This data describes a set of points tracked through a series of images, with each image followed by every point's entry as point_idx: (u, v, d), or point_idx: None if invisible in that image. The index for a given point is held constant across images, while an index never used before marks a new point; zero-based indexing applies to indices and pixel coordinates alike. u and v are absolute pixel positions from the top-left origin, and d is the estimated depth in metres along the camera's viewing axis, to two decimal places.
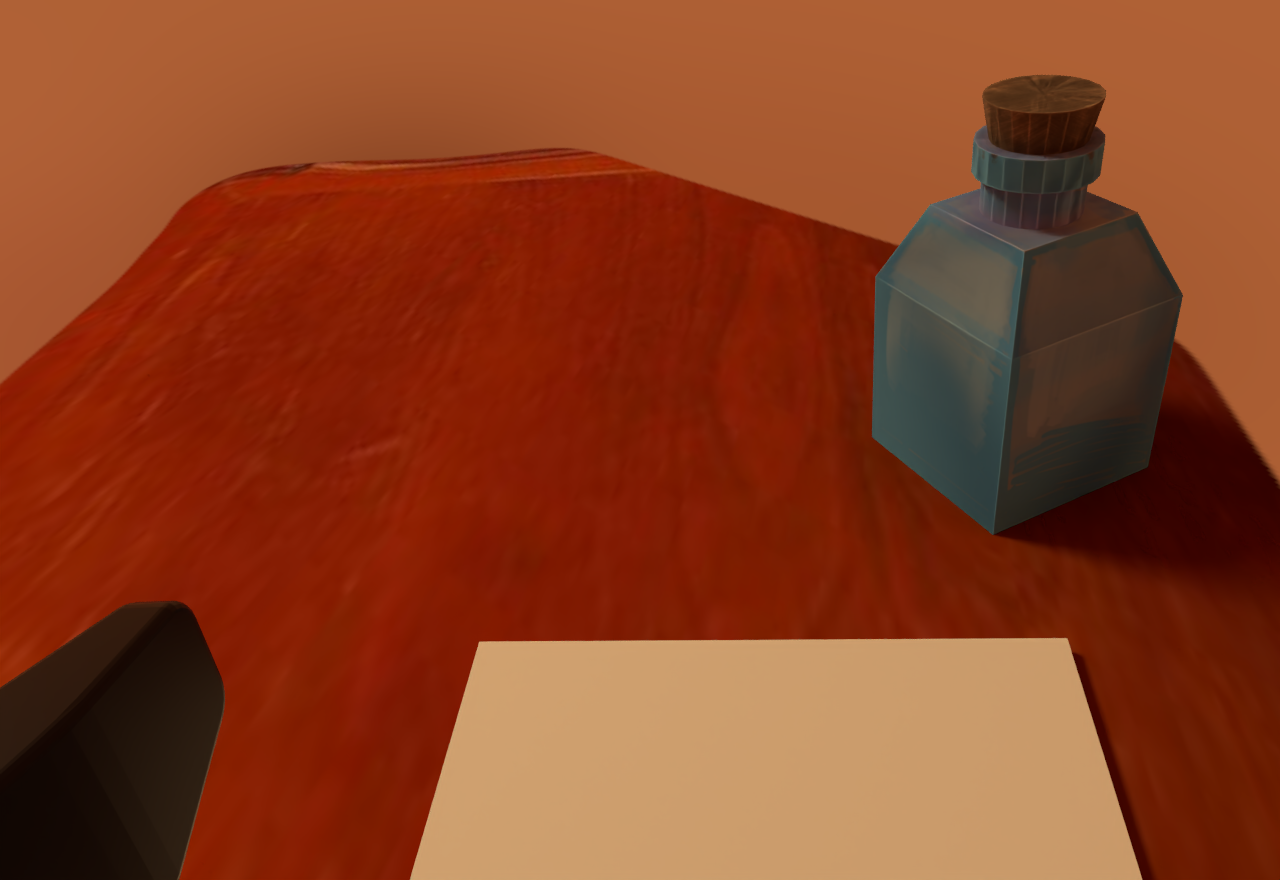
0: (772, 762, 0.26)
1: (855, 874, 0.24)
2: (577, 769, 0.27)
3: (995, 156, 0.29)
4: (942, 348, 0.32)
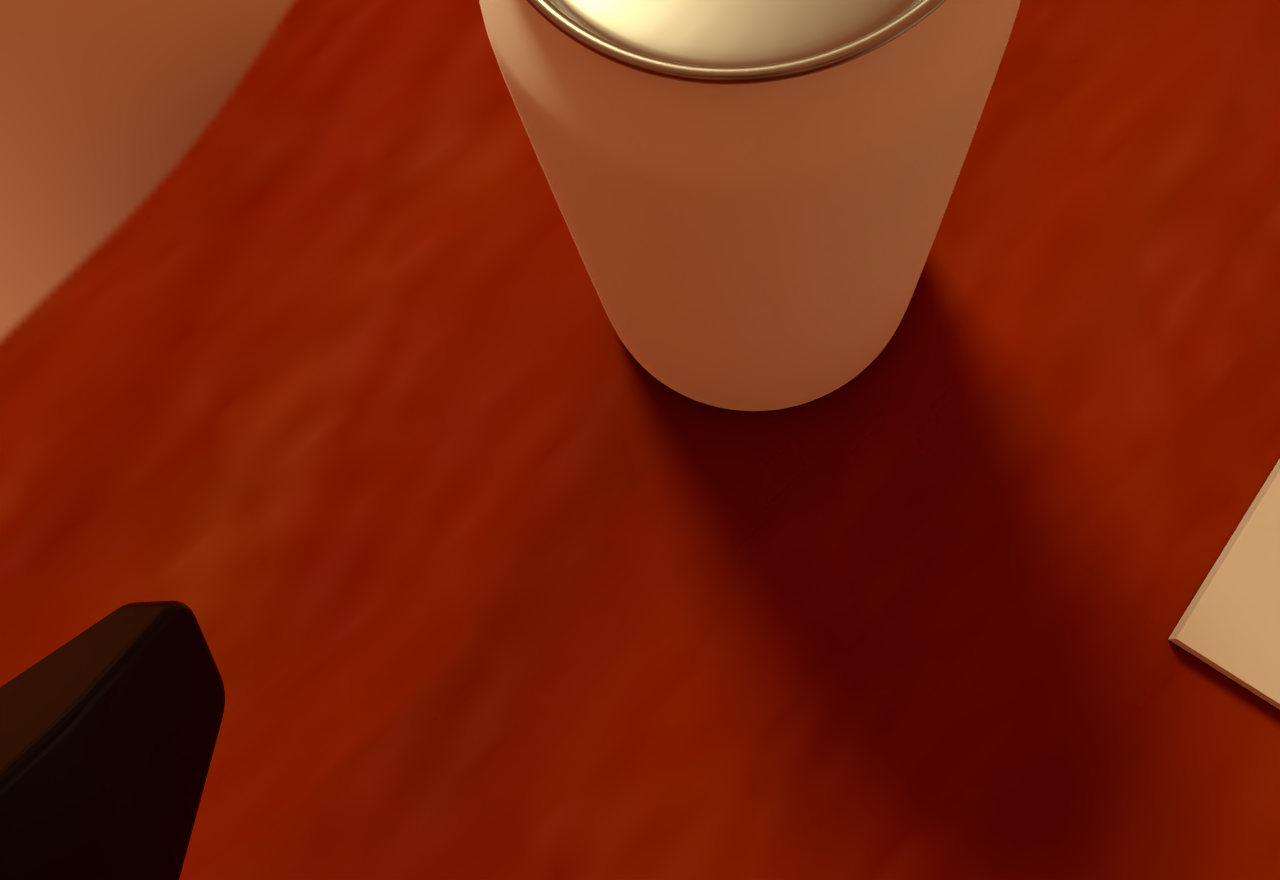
0: None
1: None
2: None
3: None
4: None
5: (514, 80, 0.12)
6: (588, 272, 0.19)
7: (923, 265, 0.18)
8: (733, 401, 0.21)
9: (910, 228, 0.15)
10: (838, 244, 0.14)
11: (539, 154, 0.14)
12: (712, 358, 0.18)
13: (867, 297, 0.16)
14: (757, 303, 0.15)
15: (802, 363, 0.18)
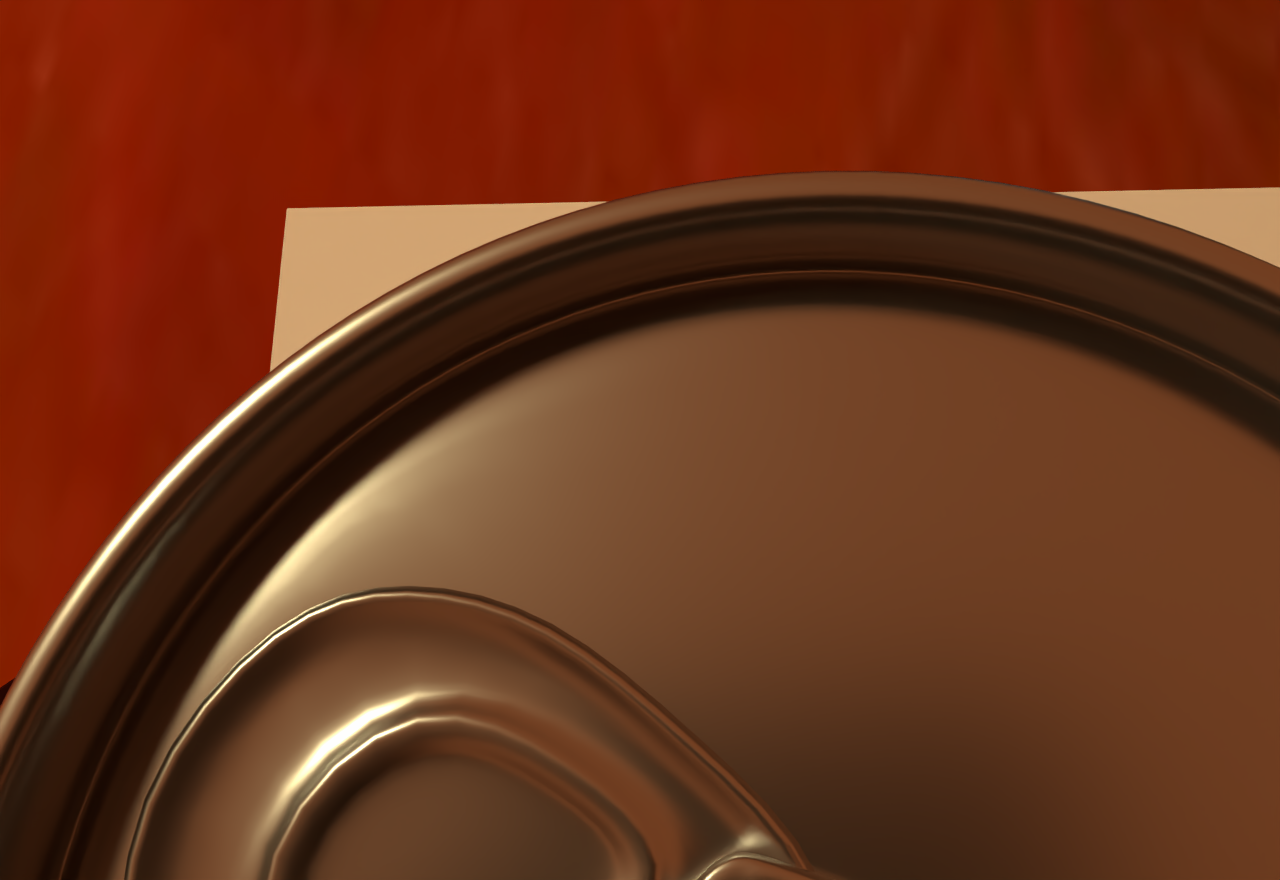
0: None
1: None
2: None
3: None
4: None
5: None
6: None
7: None
8: None
9: None
10: None
11: None
12: None
13: None
14: None
15: None
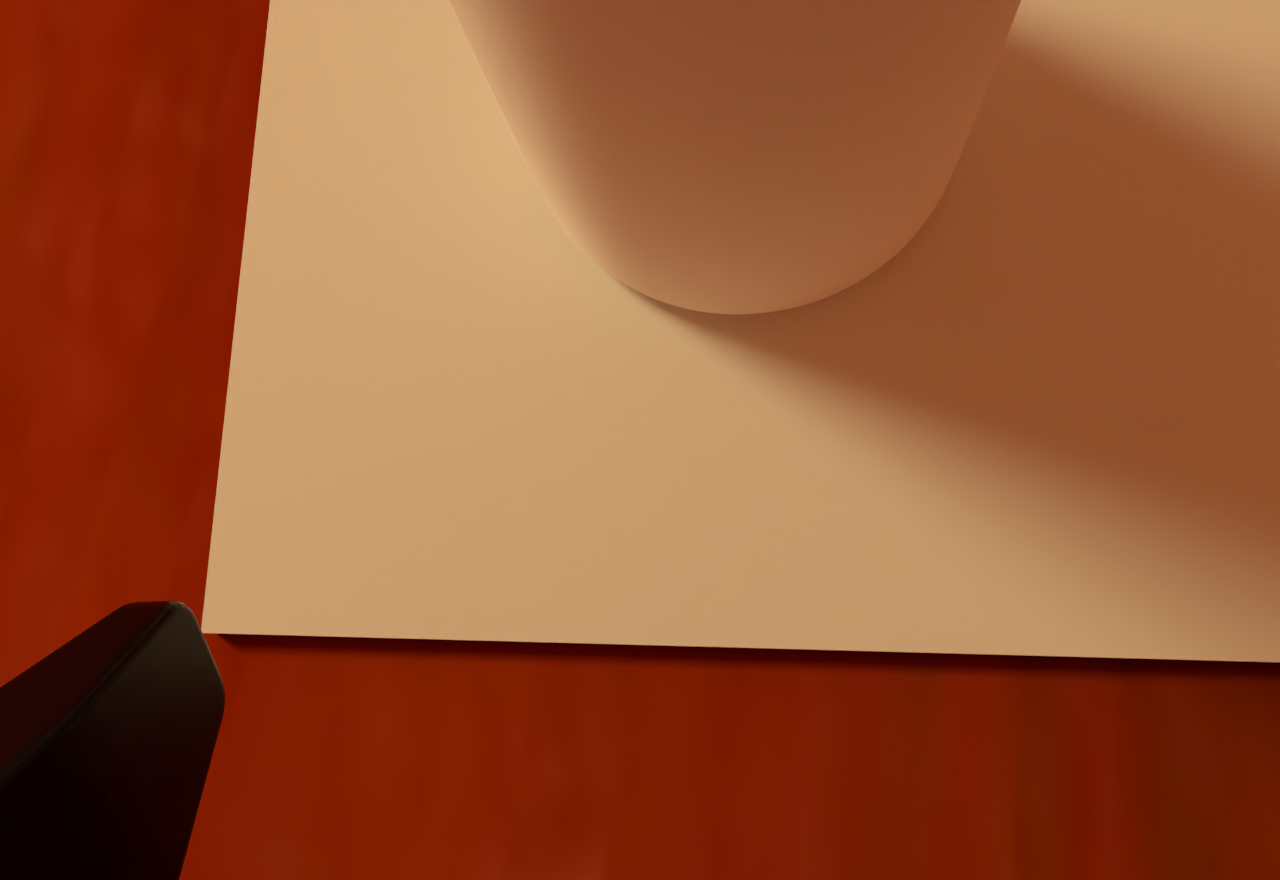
0: None
1: None
2: None
3: None
4: None
5: None
6: None
7: (987, 81, 0.12)
8: (705, 296, 0.15)
9: None
10: None
11: None
12: (668, 209, 0.12)
13: (908, 94, 0.10)
14: (728, 78, 0.09)
15: (804, 225, 0.12)
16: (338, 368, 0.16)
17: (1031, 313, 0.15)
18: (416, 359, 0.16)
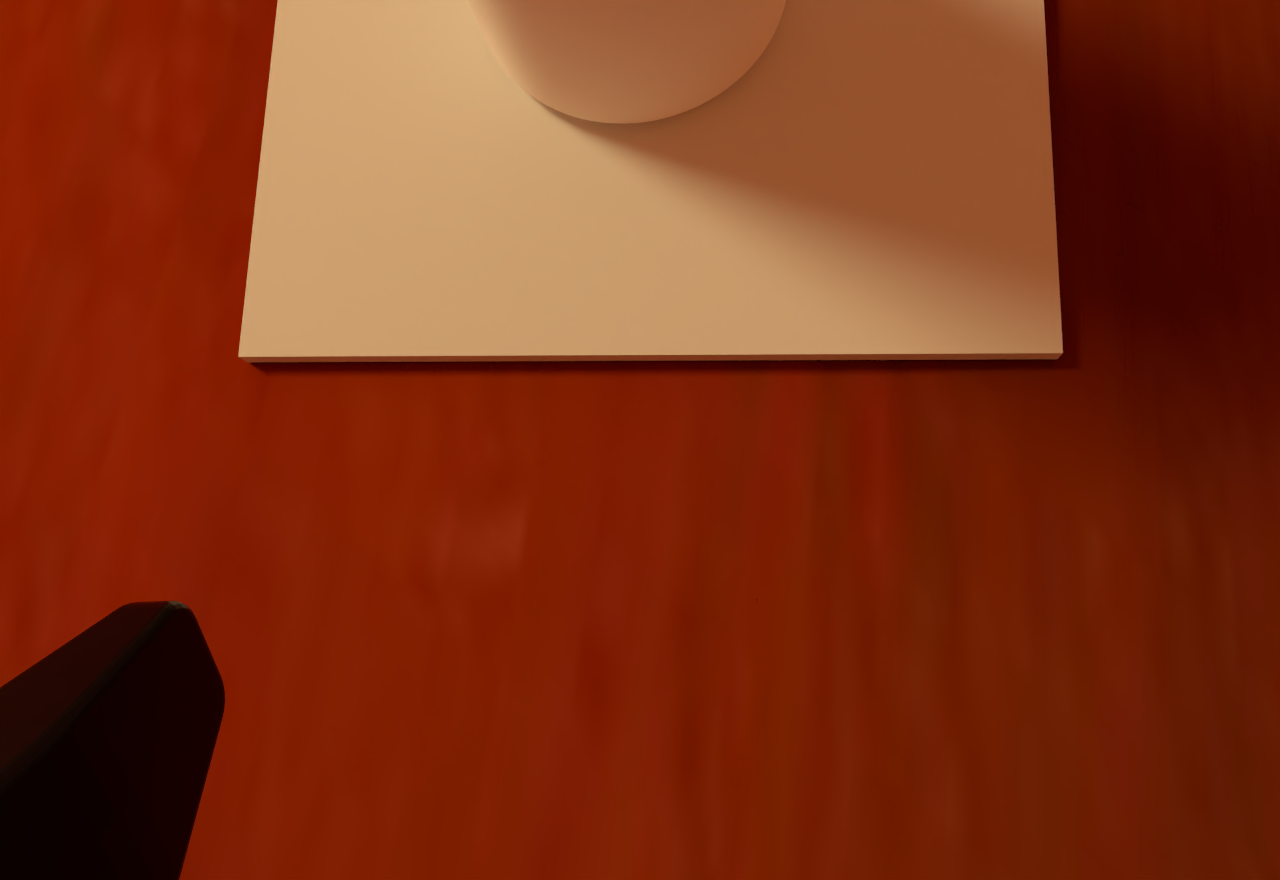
0: None
1: None
2: None
3: None
4: None
5: None
6: None
7: None
8: (598, 104, 0.21)
9: None
10: None
11: None
12: (557, 16, 0.18)
13: None
14: None
15: (651, 30, 0.18)
16: (338, 171, 0.22)
17: (835, 122, 0.21)
18: (395, 163, 0.22)
